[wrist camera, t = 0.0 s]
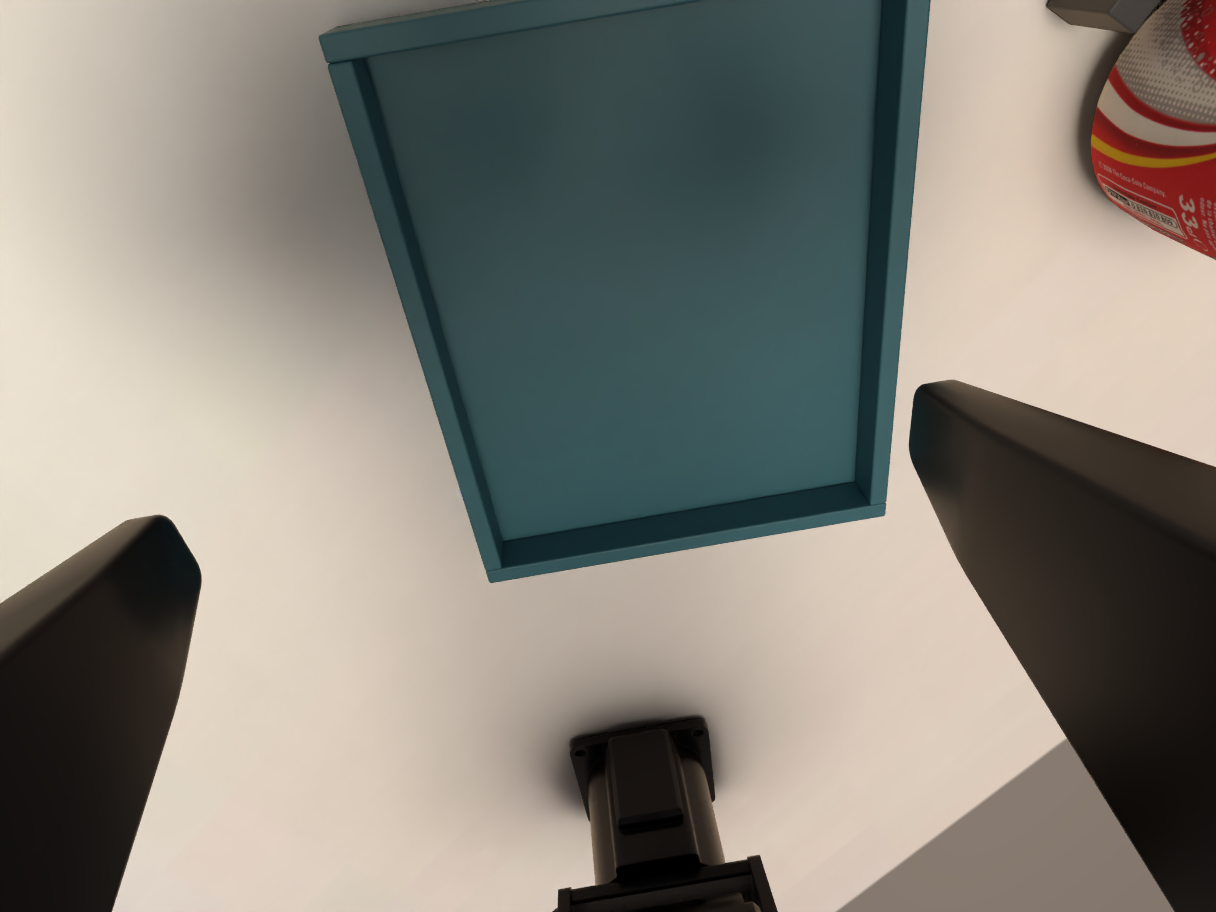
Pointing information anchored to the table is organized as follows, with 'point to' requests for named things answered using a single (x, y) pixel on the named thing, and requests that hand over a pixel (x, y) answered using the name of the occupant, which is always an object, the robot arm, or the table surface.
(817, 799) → the table surface
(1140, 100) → the soda can
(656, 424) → the tray
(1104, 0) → the door bin
